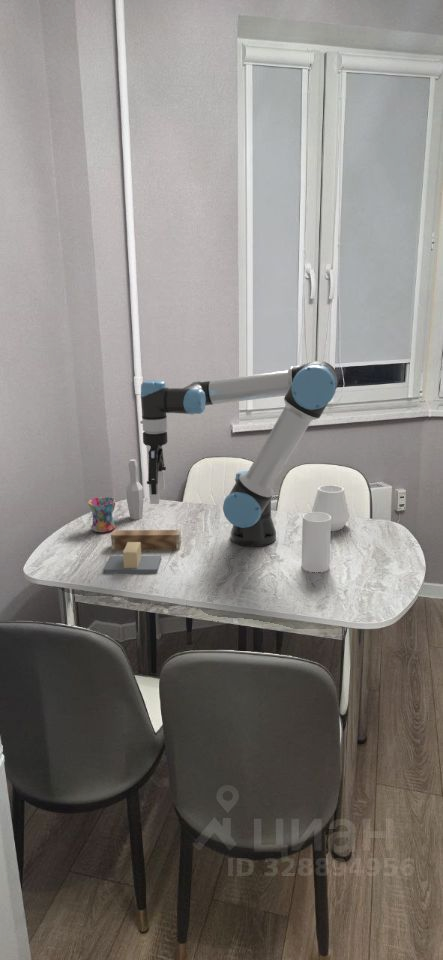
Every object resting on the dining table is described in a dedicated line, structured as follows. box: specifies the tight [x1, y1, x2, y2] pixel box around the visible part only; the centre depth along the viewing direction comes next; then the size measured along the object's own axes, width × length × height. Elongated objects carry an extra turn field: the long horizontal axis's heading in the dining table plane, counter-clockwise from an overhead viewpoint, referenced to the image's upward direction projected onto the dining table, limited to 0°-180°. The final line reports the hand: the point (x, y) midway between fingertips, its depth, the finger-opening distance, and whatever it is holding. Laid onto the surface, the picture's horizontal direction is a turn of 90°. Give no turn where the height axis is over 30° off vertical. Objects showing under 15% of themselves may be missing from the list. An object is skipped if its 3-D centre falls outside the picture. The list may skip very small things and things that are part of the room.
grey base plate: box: [102, 542, 162, 574], centre depth 186 cm, size 16×10×6 cm, turn 88°
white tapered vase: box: [311, 484, 350, 532], centre depth 214 cm, size 13×13×14 cm
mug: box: [87, 496, 116, 533], centre depth 216 cm, size 12×9×11 cm
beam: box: [110, 529, 182, 551], centre depth 200 cm, size 22×5×5 cm, turn 88°
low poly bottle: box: [125, 458, 144, 520], centre depth 225 cm, size 6×6×22 cm
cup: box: [301, 511, 332, 574], centre depth 182 cm, size 8×8×16 cm
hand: (157, 496), depth 196 cm, fingers open, 13 cm apart
